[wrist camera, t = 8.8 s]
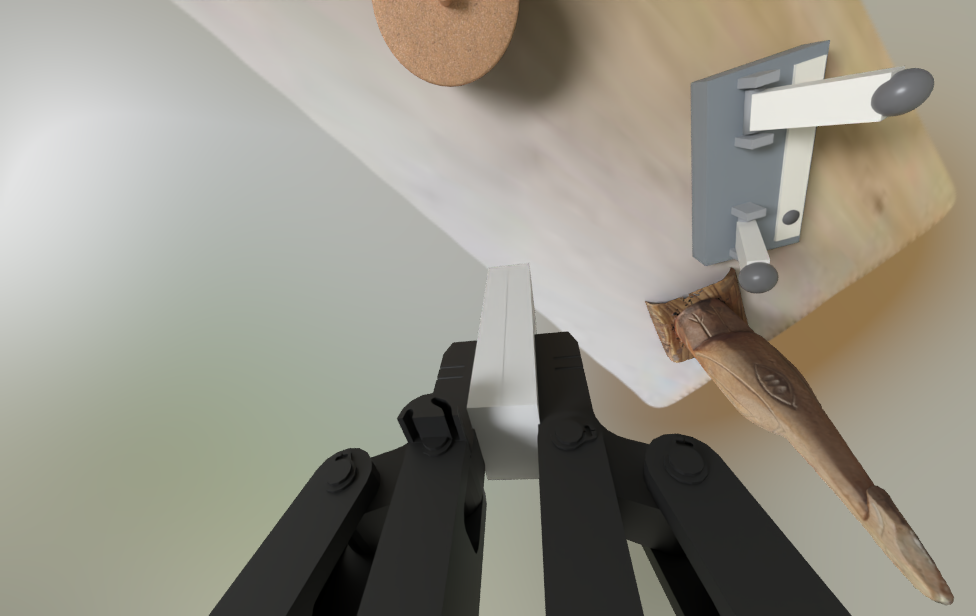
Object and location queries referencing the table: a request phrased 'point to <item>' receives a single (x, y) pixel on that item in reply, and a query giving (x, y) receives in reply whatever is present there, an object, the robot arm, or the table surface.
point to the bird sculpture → (788, 415)
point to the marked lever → (837, 100)
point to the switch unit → (749, 156)
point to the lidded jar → (447, 36)
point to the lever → (753, 259)
